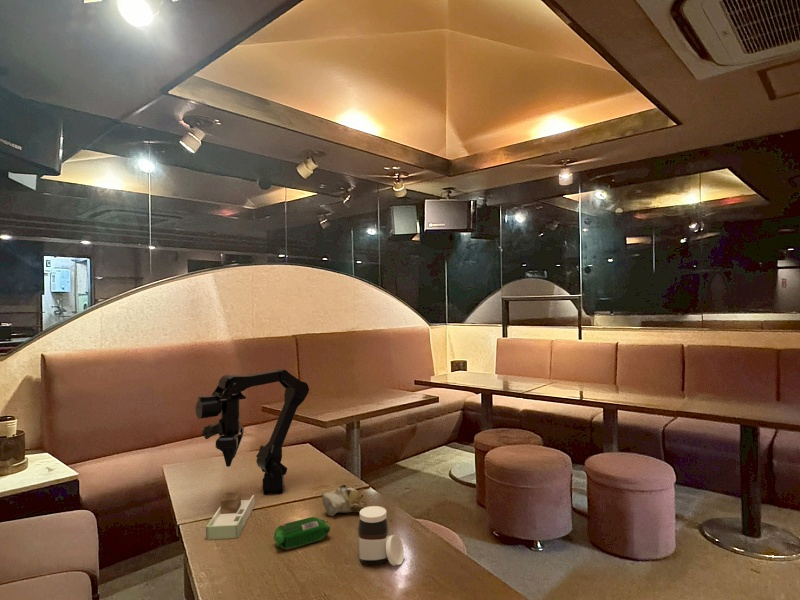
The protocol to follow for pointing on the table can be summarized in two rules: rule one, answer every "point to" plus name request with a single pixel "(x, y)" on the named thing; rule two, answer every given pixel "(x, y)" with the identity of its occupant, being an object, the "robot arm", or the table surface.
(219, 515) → the tray
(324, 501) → the ceramic sculpture
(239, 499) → the walnut block
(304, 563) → the table surface
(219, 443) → the robot arm
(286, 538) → the snack package
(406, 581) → the table surface
